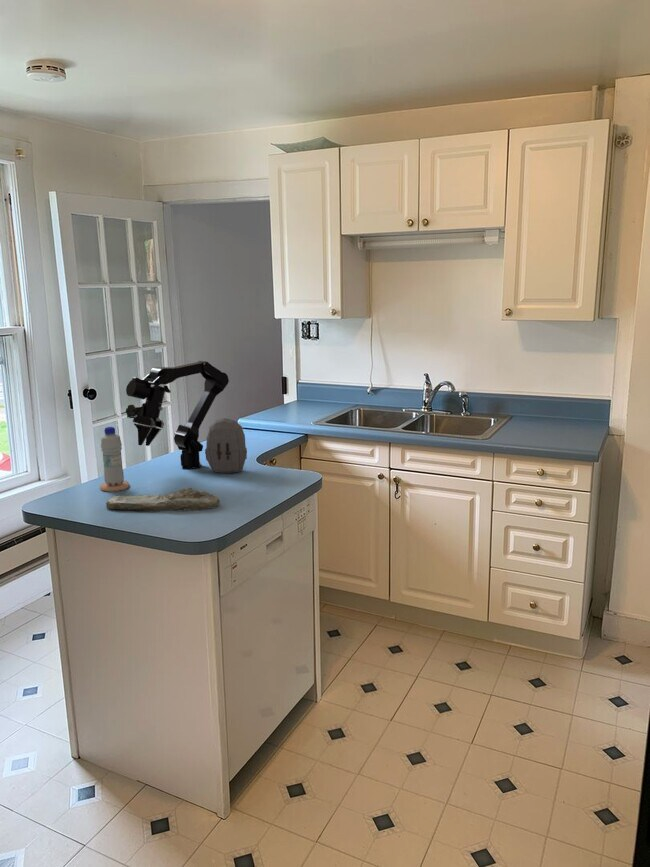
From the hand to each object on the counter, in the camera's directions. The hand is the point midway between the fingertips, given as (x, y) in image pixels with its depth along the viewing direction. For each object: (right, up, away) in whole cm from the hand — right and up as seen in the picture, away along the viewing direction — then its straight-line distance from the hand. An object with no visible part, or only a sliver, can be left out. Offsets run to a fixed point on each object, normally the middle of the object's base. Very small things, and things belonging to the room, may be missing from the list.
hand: (143, 445), depth 237 cm
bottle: (-7, -13, -8) cm, 17 cm away
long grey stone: (+14, -19, -28) cm, 37 cm away
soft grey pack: (+28, -10, +8) cm, 31 cm away
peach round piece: (-8, -14, -8) cm, 18 cm away
